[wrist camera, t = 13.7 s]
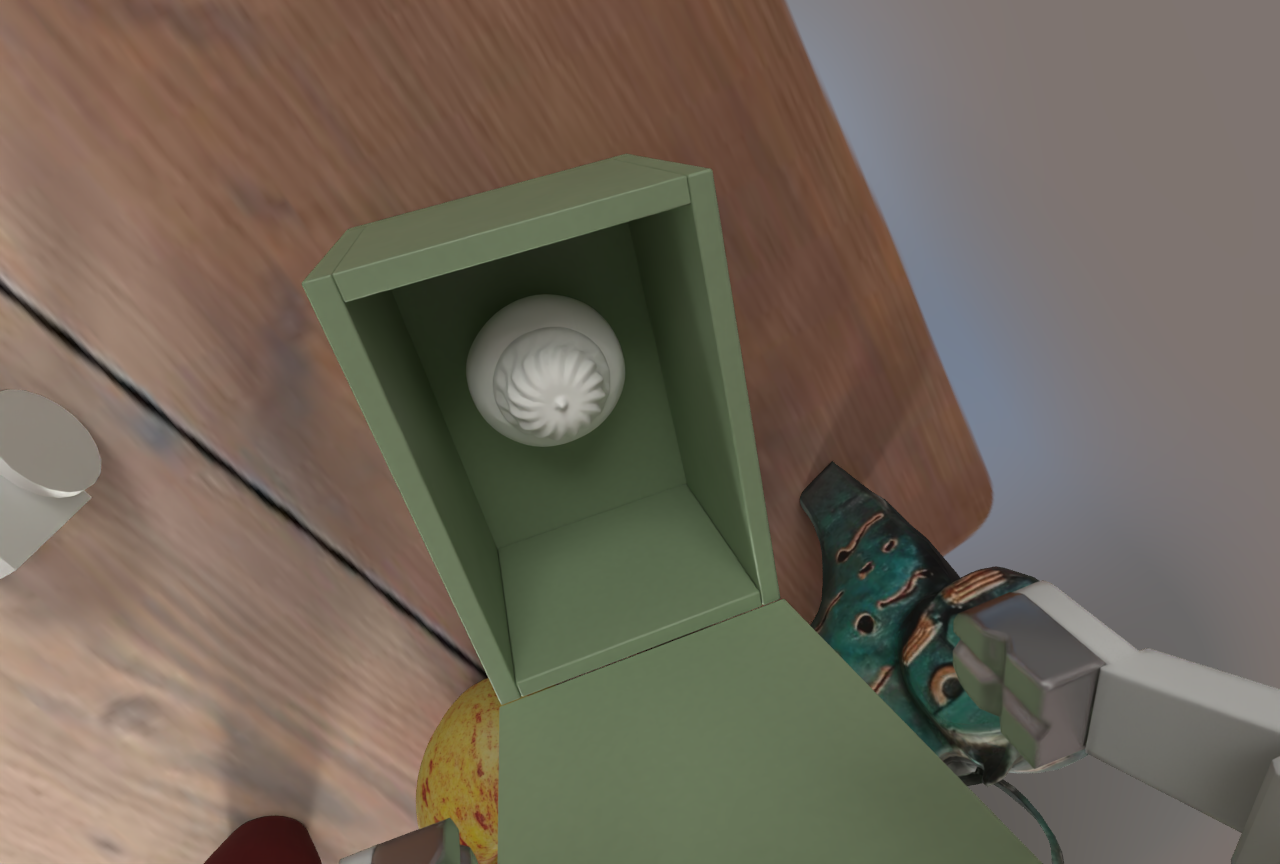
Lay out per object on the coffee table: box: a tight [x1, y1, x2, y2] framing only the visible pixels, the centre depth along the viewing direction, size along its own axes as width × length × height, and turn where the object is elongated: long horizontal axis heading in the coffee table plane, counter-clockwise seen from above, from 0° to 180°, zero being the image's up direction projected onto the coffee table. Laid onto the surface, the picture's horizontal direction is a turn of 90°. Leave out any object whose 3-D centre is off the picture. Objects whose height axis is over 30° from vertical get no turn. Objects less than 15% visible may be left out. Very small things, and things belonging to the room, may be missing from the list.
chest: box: [302, 154, 780, 705], centre depth 26 cm, size 17×12×10 cm
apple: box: [416, 678, 556, 864], centre depth 33 cm, size 9×9×10 cm
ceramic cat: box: [800, 461, 1088, 864], centre depth 30 cm, size 20×6×20 cm, turn 136°
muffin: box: [466, 294, 625, 447], centre depth 26 cm, size 6×6×7 cm
